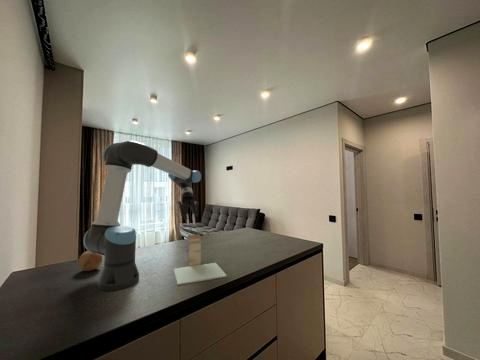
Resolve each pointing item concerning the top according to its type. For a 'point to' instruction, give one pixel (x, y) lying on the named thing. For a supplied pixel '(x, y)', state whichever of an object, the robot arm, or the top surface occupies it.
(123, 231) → the robot arm
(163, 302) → the top surface
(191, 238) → the wood block
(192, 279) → the rubber mat
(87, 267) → the onion
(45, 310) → the top surface
